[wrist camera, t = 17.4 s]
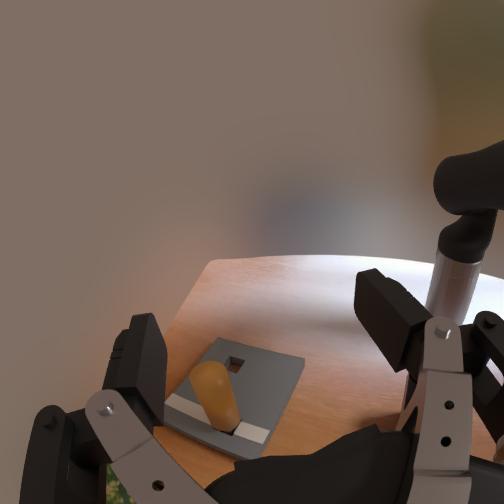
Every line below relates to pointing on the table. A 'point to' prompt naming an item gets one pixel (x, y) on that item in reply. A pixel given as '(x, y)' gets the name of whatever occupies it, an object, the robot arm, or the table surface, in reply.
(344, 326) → the table surface
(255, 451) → the board
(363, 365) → the table surface
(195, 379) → the orange and grey cylinder
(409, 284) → the table surface
